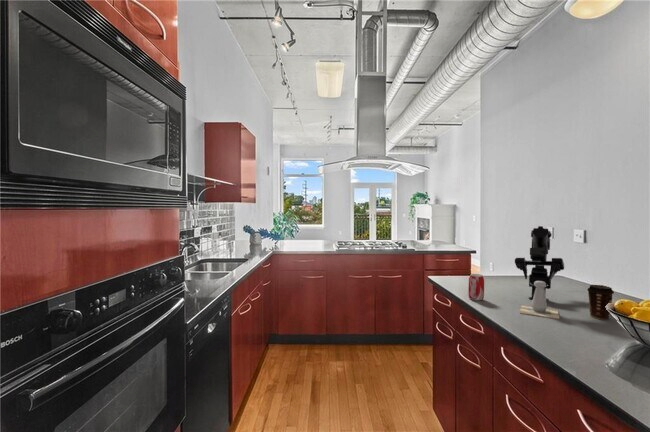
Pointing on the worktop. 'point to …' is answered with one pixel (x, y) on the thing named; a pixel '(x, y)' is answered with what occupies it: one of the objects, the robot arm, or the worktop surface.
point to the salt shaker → (539, 297)
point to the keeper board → (548, 313)
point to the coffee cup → (599, 300)
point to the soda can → (476, 287)
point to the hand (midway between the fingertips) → (537, 279)
